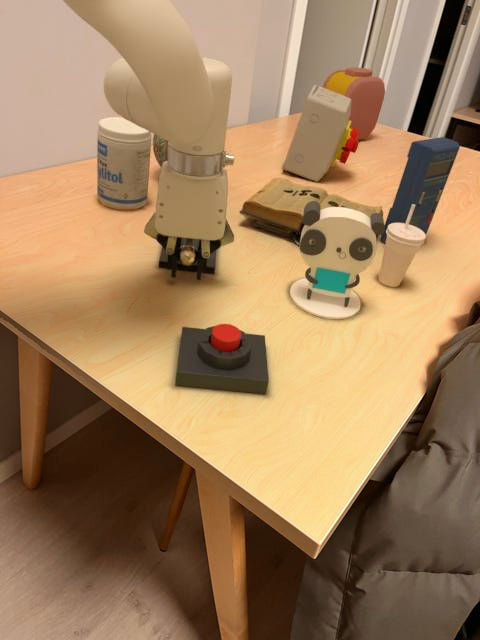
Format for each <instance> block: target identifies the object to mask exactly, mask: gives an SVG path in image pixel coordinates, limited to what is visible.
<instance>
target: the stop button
mask: <svg viewBox="0 0 480 640" xmlns="http://www.w3.org/2000/svg"><path fill="white" fill-rule="evenodd" d="M214 326H215V327H214V328H213V329H212V335H211V345H212V347H213V348H215V349H217V350H219V351H221V352H233V351H236V350H237V349H238V348H239V345H240V340H241V331H242V330H241V329H239V328H238V327H237V326H235V325H233V324H230V323H219V324H216V325H214ZM240 330H241V331H240Z"/></svg>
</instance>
